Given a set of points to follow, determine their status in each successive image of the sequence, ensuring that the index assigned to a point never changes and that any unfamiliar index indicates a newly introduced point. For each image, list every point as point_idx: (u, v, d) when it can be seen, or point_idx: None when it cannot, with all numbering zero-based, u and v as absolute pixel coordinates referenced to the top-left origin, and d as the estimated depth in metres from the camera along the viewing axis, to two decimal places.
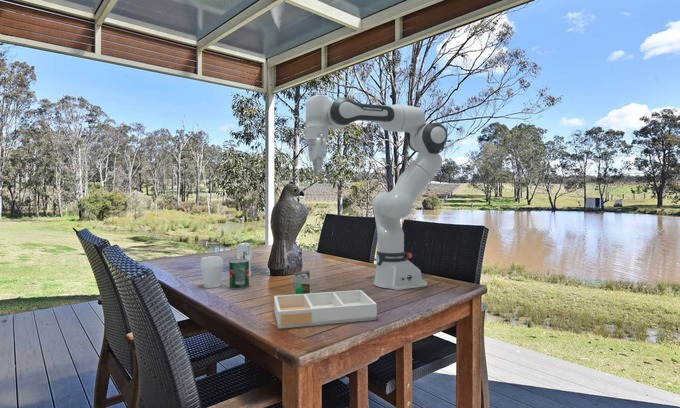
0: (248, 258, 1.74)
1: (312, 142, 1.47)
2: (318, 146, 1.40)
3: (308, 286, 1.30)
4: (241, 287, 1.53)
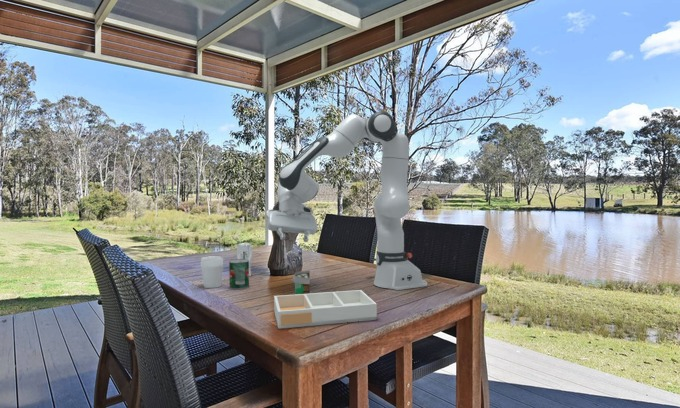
0: (248, 258, 1.74)
1: None
2: (267, 221, 1.47)
3: (308, 286, 1.30)
4: (241, 287, 1.53)
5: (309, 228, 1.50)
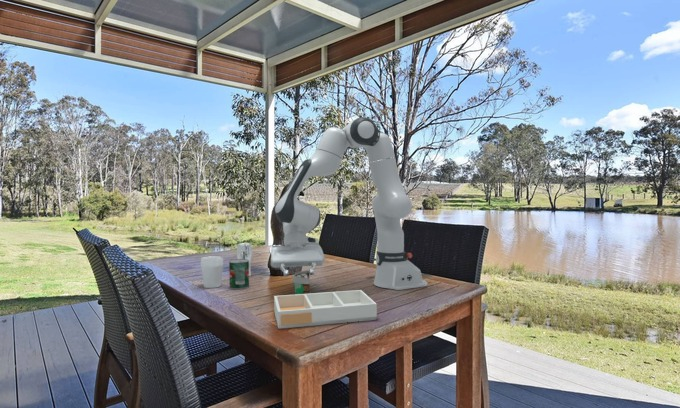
0: (248, 258, 1.74)
1: None
2: None
3: (308, 286, 1.30)
4: (241, 287, 1.53)
5: (315, 259, 1.42)
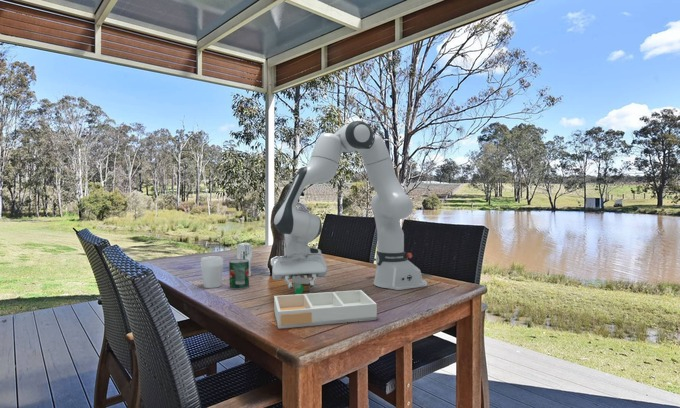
0: (248, 258, 1.74)
1: None
2: None
3: (308, 286, 1.30)
4: (241, 287, 1.53)
5: (317, 271, 1.38)
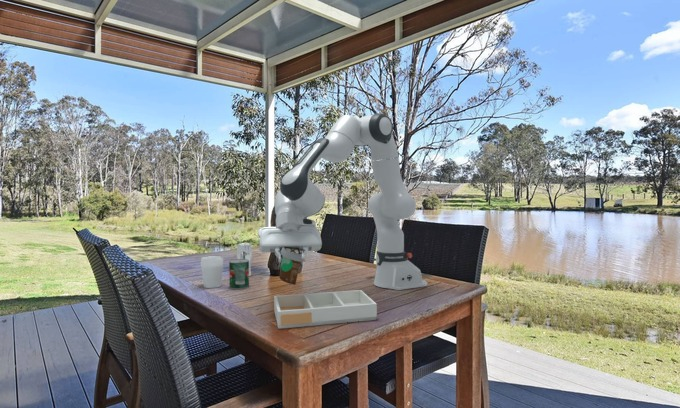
0: (248, 258, 1.74)
1: None
2: None
3: (298, 263, 1.15)
4: (241, 287, 1.53)
5: (311, 243, 1.22)
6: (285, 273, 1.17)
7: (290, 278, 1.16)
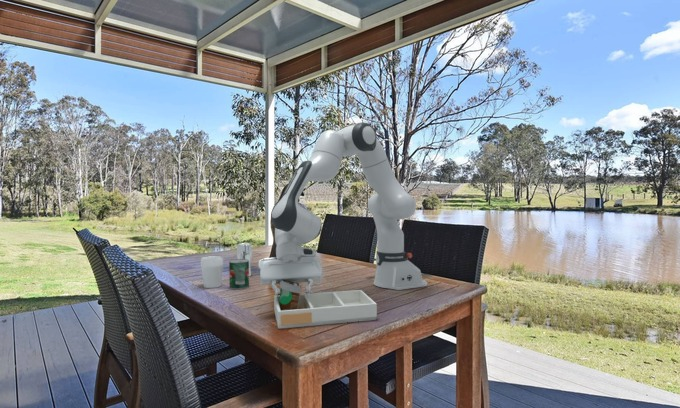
0: (248, 258, 1.74)
1: None
2: None
3: (297, 295, 1.14)
4: (241, 287, 1.53)
5: (312, 275, 1.22)
6: (285, 306, 1.16)
7: None
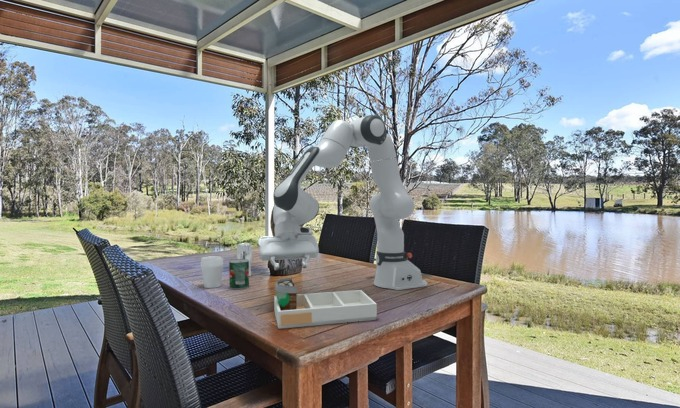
0: (248, 258, 1.74)
1: None
2: None
3: (295, 295, 1.14)
4: (241, 287, 1.53)
5: (308, 251, 1.29)
6: (284, 308, 1.15)
7: None
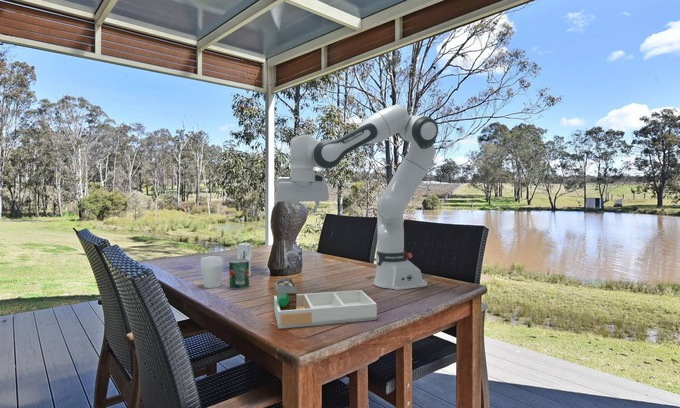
0: (248, 258, 1.74)
1: None
2: None
3: (294, 295, 1.14)
4: (241, 287, 1.53)
5: (319, 199, 1.44)
6: (284, 308, 1.15)
7: None
